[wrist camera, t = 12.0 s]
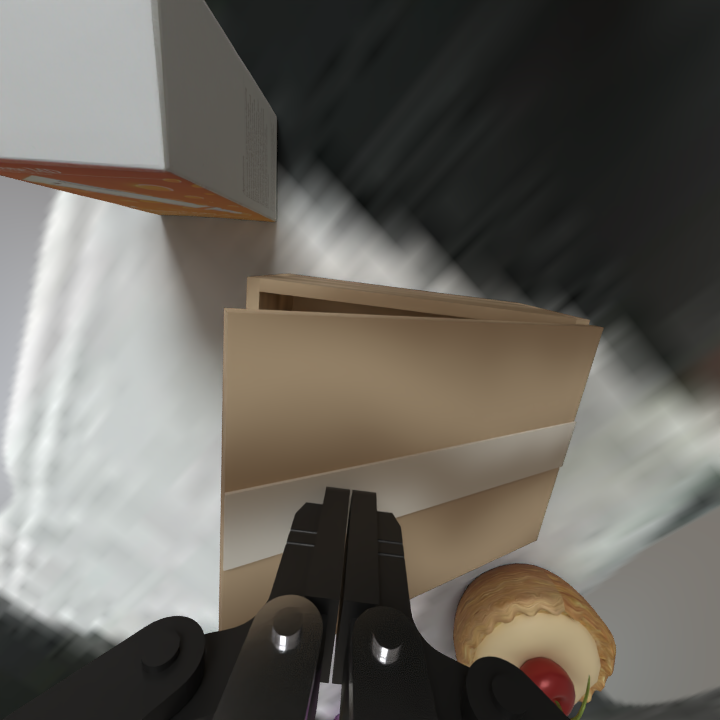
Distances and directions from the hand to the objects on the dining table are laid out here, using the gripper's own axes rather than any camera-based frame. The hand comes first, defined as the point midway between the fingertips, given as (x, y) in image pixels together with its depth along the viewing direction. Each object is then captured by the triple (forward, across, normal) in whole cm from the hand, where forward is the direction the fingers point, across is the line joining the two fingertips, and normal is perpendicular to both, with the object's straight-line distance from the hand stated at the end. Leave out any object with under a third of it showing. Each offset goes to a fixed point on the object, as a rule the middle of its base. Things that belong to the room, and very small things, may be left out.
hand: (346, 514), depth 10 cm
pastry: (+16, -16, +20) cm, 30 cm away
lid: (+3, -3, 0) cm, 5 cm away
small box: (+16, +11, -12) cm, 23 cm away
